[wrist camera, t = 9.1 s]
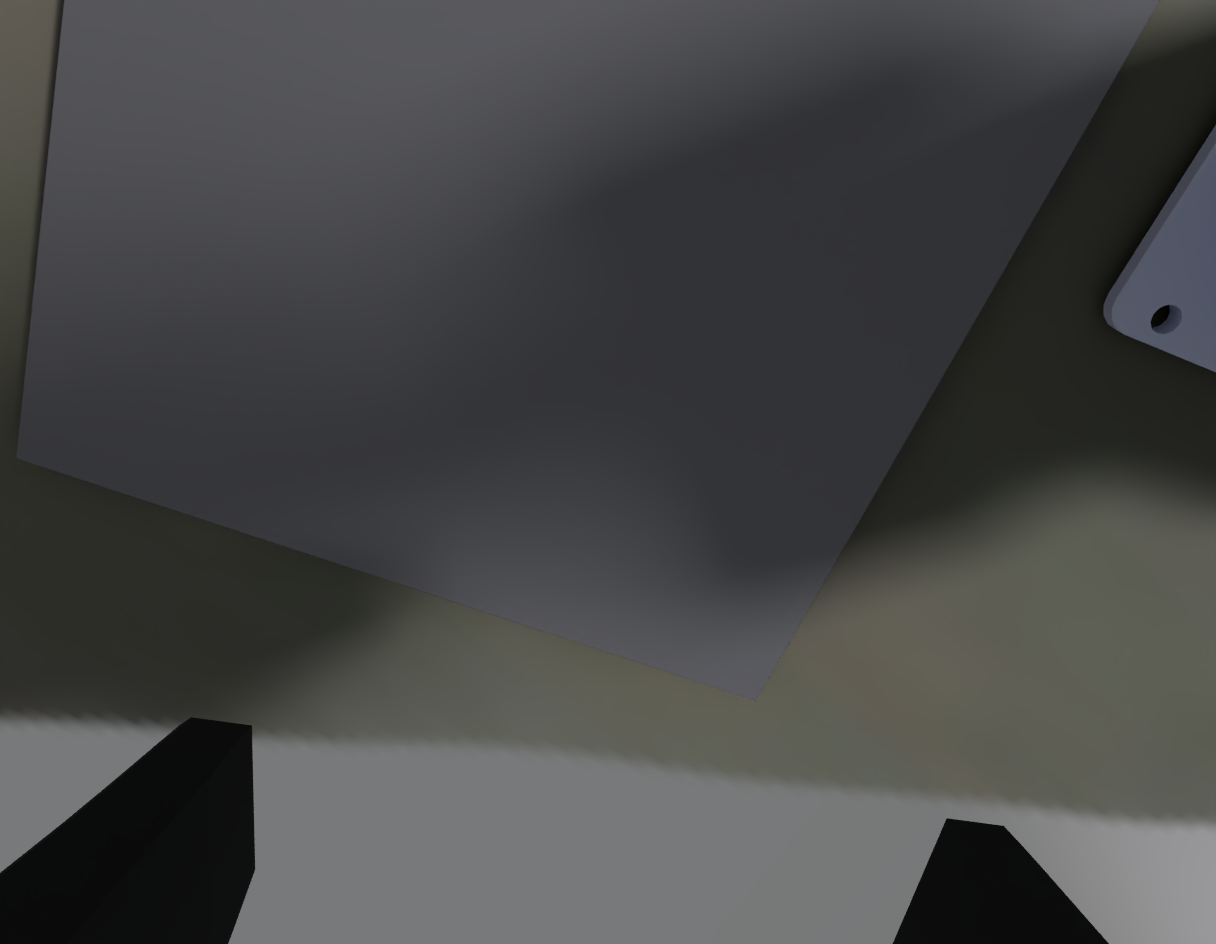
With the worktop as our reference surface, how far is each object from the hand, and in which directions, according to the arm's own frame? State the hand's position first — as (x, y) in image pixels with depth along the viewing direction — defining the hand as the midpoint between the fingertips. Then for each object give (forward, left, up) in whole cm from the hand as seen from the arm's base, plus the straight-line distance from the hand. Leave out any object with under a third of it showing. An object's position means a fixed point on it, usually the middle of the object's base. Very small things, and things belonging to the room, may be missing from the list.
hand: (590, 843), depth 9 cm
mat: (+3, -4, -9) cm, 11 cm away
